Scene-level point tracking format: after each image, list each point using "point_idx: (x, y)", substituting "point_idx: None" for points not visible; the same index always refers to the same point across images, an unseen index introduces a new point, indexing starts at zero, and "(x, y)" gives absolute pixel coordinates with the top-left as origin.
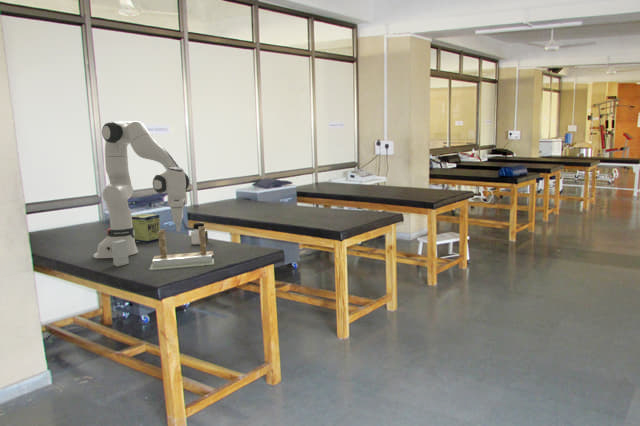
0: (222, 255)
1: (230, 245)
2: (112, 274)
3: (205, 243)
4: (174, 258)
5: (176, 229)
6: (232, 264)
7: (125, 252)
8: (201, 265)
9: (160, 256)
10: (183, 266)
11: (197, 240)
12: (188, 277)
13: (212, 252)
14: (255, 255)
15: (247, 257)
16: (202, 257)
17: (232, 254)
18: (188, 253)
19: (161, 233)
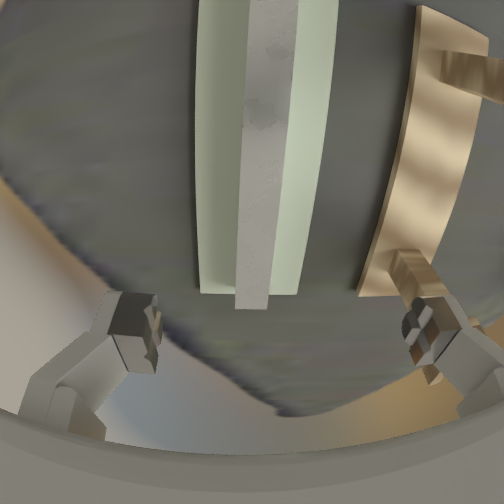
0: (351, 317)
1: None
2: None
3: (408, 308)
4: (265, 112)
5: (97, 313)
6: (185, 338)
7: None
8: (198, 242)
9: (448, 51)
10: (195, 155)
11: None
12: (24, 191)
13: (397, 293)
14: (283, 387)
15: (269, 374)
16: (236, 269)
17: (342, 343)
18: (451, 198)
19: None
